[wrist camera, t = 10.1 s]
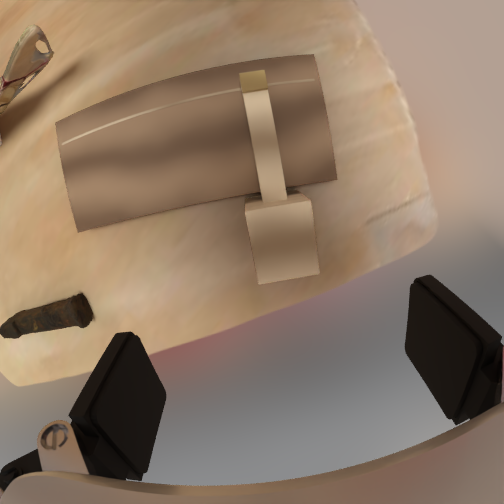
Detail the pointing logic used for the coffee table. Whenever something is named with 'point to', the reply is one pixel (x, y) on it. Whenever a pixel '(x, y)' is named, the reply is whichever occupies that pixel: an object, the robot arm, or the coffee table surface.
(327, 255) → the coffee table surface
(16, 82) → the wood carving
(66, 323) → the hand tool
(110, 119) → the board
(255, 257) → the beige block with stick
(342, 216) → the coffee table surface
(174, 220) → the coffee table surface
